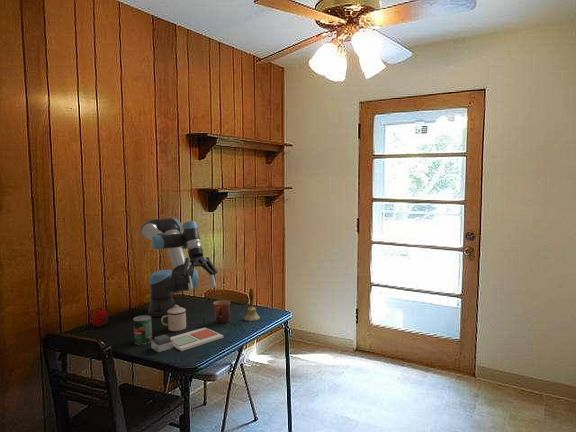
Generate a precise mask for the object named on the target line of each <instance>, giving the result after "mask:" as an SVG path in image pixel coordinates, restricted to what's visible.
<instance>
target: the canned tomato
mask: <svg viewBox="0 0 576 432" xmlns="http://www.w3.org/2000/svg"><path fill="white" fill-rule="evenodd" d="M132 322H133V340H134V341H133V343H134V344H135V345H138V346H139V345H140V346H141V344H143V345H148V344H150V343H151V341H154V340H153V326H152V324H153V323H152V322H153V321H152V316H149V315H148V314H145V315H144V314H143V315H138V316H135V317H134V318H132ZM147 343H148V344H147Z"/></svg>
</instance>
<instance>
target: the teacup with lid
mask: <svg viewBox="0 0 576 432" xmlns="http://www.w3.org/2000/svg"><path fill="white" fill-rule="evenodd" d="M186 313H187V309H186V308H184V307H181V306H179V305H178V304H175V306H174V307H173V308H172V309H169V310H168V311H167V314H168V315H165V316H162V317H160V318H161V319H160V321H161V324H162V325H163V326H167V327H168V330H169V331H171V332H179V331H183V330H185V329H186V328H187V314H186ZM164 318H167V323H165V322H164Z"/></svg>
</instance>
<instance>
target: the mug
mask: <svg viewBox="0 0 576 432" xmlns="http://www.w3.org/2000/svg"><path fill="white" fill-rule="evenodd" d="M213 306H214V319H215V322H216V323H217V324H218V325H222V324H223V325H224V324H227V323H228V322H229V321H230V317H231V316H230V314H231V313H230V306H231V301H230V300H227V299H222V300H221V299H219V300H215V301H214V302H213Z"/></svg>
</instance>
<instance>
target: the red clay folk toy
mask: <svg viewBox="0 0 576 432" xmlns="http://www.w3.org/2000/svg"><path fill="white" fill-rule="evenodd" d="M100 300H101V301H102V303H101V305H100V306H101V307H100V309H96V310H95V313H94V314H93V318H92V326H93V328H103V327H102V326H104V327H106V326H107V325H108V323H109V314H108V311H107V310H106V308H105V307H103V306H104V302H105V301H106V302H107V299H106V298H105V297H103V299H102V298H100Z"/></svg>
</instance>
